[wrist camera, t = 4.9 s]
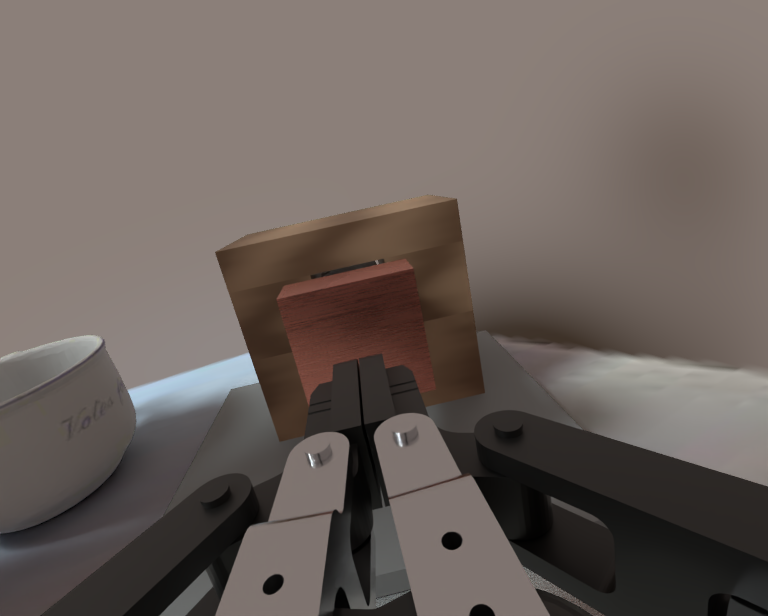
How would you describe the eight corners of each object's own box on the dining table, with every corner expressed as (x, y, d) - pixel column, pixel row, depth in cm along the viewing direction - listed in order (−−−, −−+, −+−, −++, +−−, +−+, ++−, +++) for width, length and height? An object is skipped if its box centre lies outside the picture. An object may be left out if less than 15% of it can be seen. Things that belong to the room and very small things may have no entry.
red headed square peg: (312, 418, 16) (276, 299, 14) (322, 336, 24) (300, 255, 23) (436, 389, 16) (413, 268, 15) (403, 317, 25) (386, 236, 23)
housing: (284, 456, 23) (215, 252, 20) (297, 395, 30) (247, 234, 26) (487, 407, 24) (456, 198, 20) (455, 358, 30) (428, 194, 27)
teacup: (147, 501, 22) (84, 371, 20) (-120, 622, 18) (-242, 477, 16) (158, 400, 34) (120, 312, 32) (0, 459, 30) (-58, 363, 28)
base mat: (105, 666, 14) (92, 647, 14) (235, 400, 31) (231, 389, 31) (657, 527, 15) (657, 505, 14) (487, 341, 32) (485, 330, 31)
